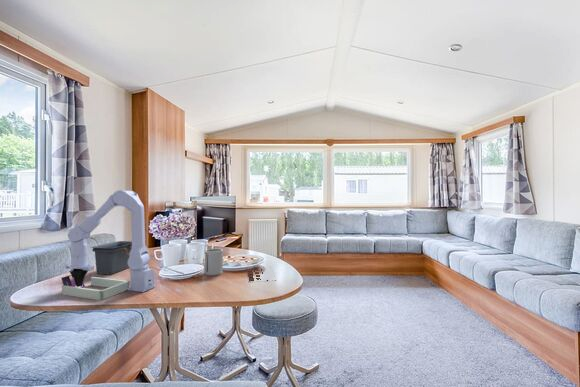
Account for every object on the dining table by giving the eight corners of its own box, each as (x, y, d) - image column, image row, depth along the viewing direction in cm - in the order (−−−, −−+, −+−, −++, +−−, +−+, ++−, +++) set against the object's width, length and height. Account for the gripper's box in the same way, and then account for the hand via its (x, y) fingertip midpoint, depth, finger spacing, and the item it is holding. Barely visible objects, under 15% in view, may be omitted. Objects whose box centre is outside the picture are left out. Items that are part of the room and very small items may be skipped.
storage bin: (117, 265, 173) (117, 240, 173) (142, 266, 171) (142, 241, 171) (88, 275, 152) (88, 247, 152) (115, 276, 150) (115, 248, 150)
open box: (129, 289, 132) (129, 281, 132) (101, 300, 118) (101, 291, 118) (92, 284, 138) (92, 276, 138) (61, 294, 124) (61, 286, 124)
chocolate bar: (246, 268, 169) (246, 266, 169) (270, 267, 171) (270, 265, 171) (248, 283, 142) (248, 280, 142) (276, 281, 145) (276, 279, 145)
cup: (225, 270, 162) (225, 248, 162) (219, 275, 153) (219, 252, 153) (208, 270, 163) (208, 248, 163) (202, 275, 154) (202, 251, 154)
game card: (63, 277, 125) (82, 271, 134) (53, 280, 126) (72, 275, 135) (67, 292, 125) (86, 286, 134) (58, 296, 126) (77, 289, 134)
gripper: (100, 254, 132) (100, 284, 133) (75, 252, 137) (75, 281, 137) (85, 257, 126) (85, 289, 126) (59, 255, 130) (59, 286, 130)
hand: (79, 286), depth 131 cm, fingers closed
